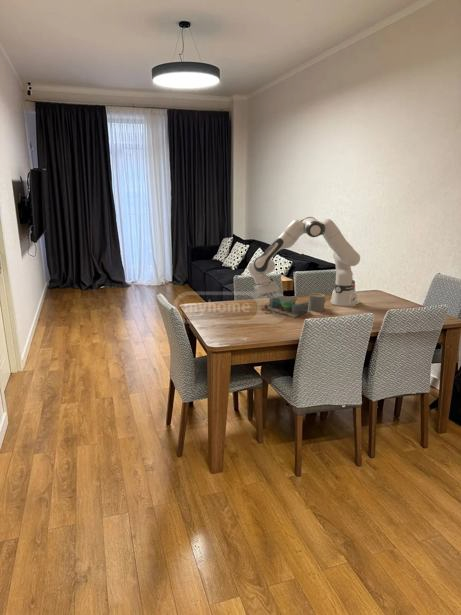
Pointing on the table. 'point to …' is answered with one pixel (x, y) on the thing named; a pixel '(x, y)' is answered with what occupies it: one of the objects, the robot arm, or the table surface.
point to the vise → (294, 309)
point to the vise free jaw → (275, 302)
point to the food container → (287, 303)
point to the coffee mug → (316, 302)
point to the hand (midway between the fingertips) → (273, 299)
